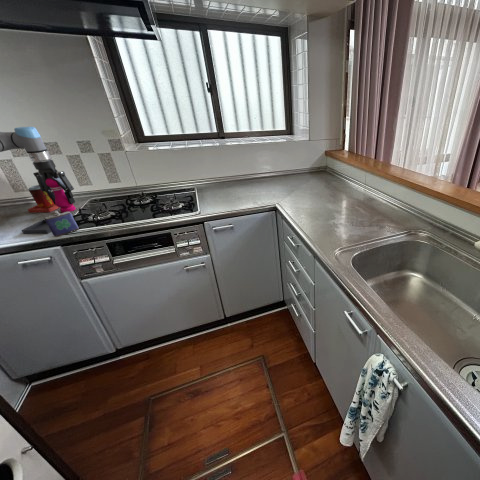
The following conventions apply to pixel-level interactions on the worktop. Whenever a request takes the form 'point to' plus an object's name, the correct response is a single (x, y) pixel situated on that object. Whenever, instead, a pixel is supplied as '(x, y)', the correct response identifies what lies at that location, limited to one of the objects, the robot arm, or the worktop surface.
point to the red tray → (37, 209)
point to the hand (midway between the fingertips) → (65, 203)
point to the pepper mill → (60, 196)
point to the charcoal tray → (37, 228)
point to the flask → (61, 223)
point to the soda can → (41, 197)
